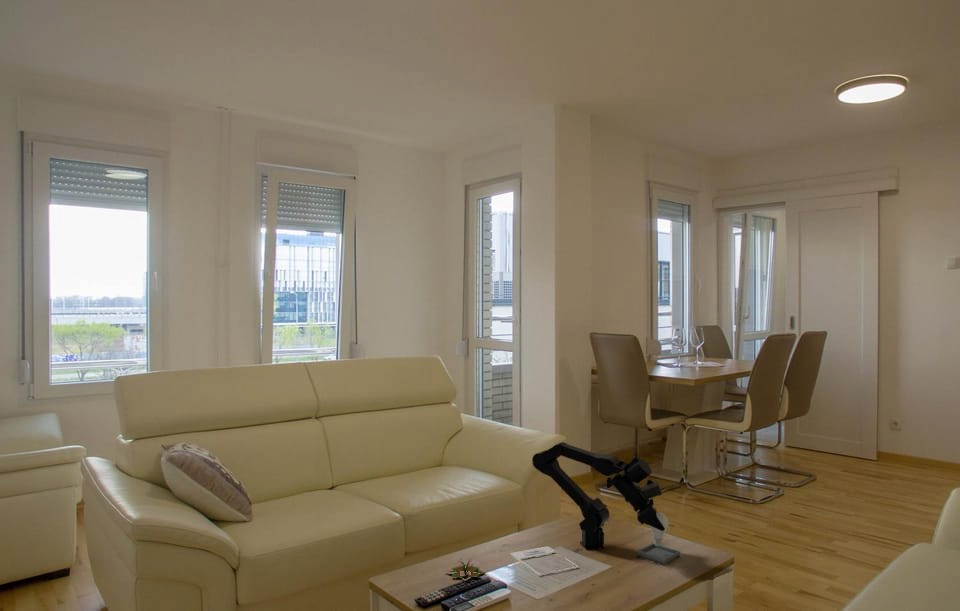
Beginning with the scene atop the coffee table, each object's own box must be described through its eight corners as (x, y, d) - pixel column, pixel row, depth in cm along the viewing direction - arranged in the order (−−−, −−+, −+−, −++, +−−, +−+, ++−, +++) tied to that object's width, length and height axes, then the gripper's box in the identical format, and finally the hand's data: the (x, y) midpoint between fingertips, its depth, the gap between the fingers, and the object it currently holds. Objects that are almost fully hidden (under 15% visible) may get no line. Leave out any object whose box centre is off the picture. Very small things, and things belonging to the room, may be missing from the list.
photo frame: (548, 545, 206) (579, 566, 190) (548, 548, 206) (579, 569, 190) (509, 552, 199) (538, 574, 183) (509, 556, 199) (538, 578, 183)
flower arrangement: (466, 588, 176) (466, 572, 176) (437, 575, 184) (437, 560, 184) (493, 575, 185) (493, 559, 185) (465, 563, 193) (465, 549, 193)
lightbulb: (669, 544, 201) (670, 511, 201) (666, 551, 195) (667, 517, 195) (649, 541, 204) (650, 508, 204) (646, 547, 198) (647, 514, 198)
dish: (664, 565, 192) (664, 559, 192) (636, 556, 200) (636, 550, 200) (680, 557, 199) (680, 551, 199) (652, 548, 207) (652, 542, 207)
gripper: (649, 481, 191) (685, 520, 189) (644, 466, 210) (677, 501, 208) (623, 504, 193) (658, 543, 191) (620, 487, 211) (652, 522, 209)
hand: (662, 526), depth 199 cm, fingers closed on lightbulb, 6 cm apart
